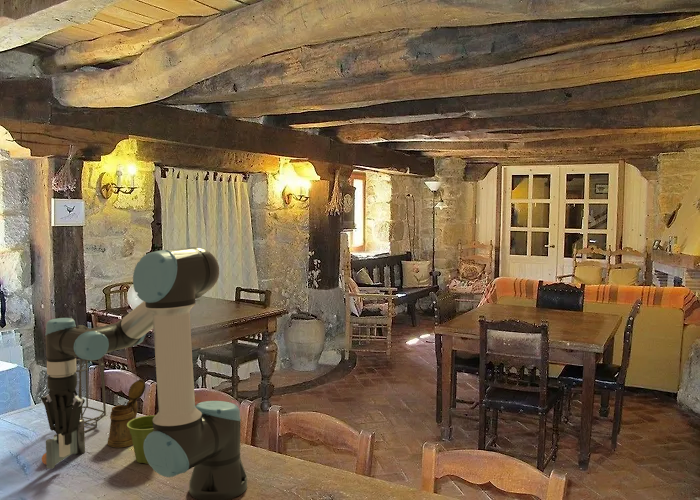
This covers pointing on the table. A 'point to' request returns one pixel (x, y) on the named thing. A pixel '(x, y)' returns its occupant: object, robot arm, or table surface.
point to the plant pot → (140, 435)
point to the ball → (44, 459)
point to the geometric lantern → (87, 387)
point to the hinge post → (80, 438)
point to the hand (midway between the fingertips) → (64, 455)
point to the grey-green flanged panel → (53, 450)
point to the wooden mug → (125, 417)
